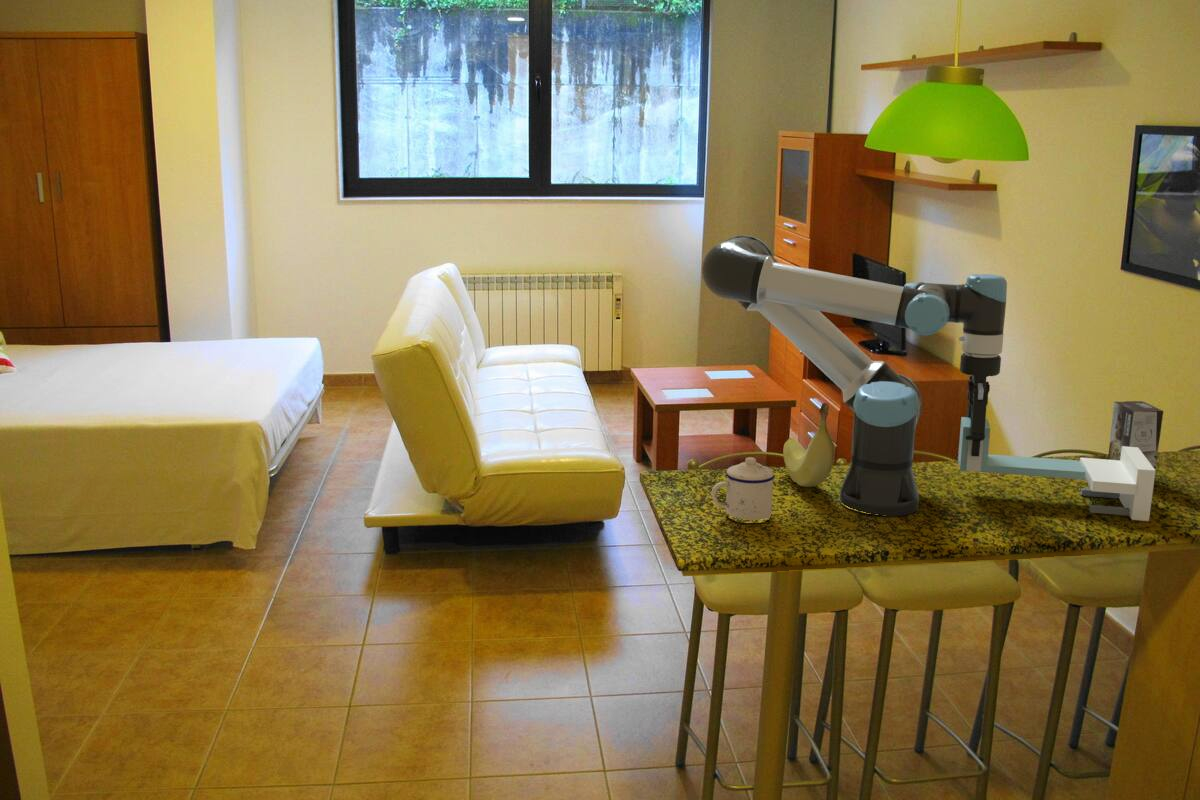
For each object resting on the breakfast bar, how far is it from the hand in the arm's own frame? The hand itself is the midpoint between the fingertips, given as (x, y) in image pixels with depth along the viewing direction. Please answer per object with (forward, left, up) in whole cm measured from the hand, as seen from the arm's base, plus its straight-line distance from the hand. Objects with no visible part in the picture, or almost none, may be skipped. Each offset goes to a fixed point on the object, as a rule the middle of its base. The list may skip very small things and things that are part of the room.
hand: (971, 464), depth 220 cm
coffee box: (+33, +19, -6) cm, 39 cm away
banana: (-33, -4, -6) cm, 34 cm away
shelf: (+27, 0, -6) cm, 27 cm away
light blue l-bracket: (+9, 0, 0) cm, 9 cm away
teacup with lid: (-43, -27, -6) cm, 51 cm away
